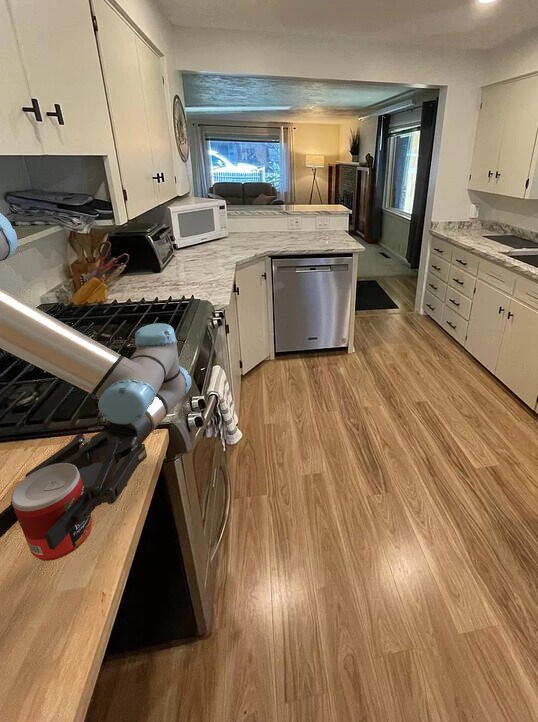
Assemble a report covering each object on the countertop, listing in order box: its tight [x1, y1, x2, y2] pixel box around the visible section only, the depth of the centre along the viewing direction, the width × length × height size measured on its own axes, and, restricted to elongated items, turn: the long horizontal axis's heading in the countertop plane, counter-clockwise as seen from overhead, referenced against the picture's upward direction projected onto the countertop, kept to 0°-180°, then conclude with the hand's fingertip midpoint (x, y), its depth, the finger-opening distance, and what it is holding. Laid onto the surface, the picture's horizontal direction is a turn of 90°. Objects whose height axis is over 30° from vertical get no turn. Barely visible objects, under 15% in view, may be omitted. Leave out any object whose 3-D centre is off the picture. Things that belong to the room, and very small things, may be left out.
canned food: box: [10, 463, 93, 562], centre depth 53 cm, size 8×8×11 cm
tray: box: [78, 452, 129, 496], centre depth 76 cm, size 13×13×2 cm
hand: (22, 536), depth 48 cm, fingers closed on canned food, 8 cm apart
